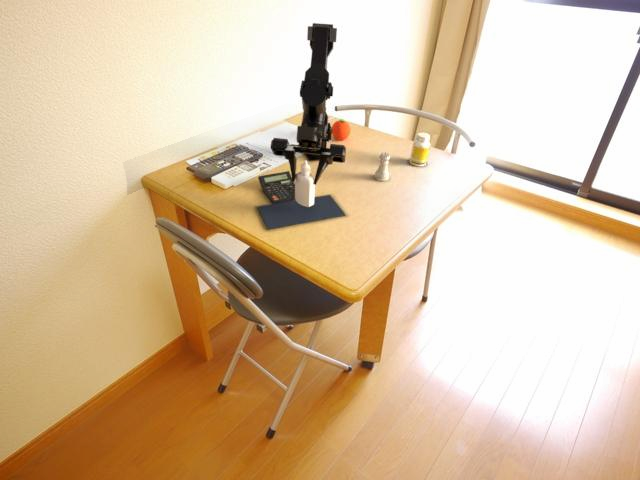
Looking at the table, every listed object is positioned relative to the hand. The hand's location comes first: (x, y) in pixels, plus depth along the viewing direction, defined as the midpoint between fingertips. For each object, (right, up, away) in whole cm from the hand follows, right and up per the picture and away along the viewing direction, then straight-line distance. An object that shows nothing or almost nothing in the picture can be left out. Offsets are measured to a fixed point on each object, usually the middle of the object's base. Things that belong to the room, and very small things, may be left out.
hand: (304, 182), depth 102 cm
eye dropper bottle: (0, -5, +5) cm, 7 cm away
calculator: (-7, -1, +13) cm, 15 cm away
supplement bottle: (+36, +11, +33) cm, 50 cm away
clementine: (+11, +22, +46) cm, 52 cm away
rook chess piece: (+23, +5, +23) cm, 33 cm away
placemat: (-1, -7, +6) cm, 9 cm away
